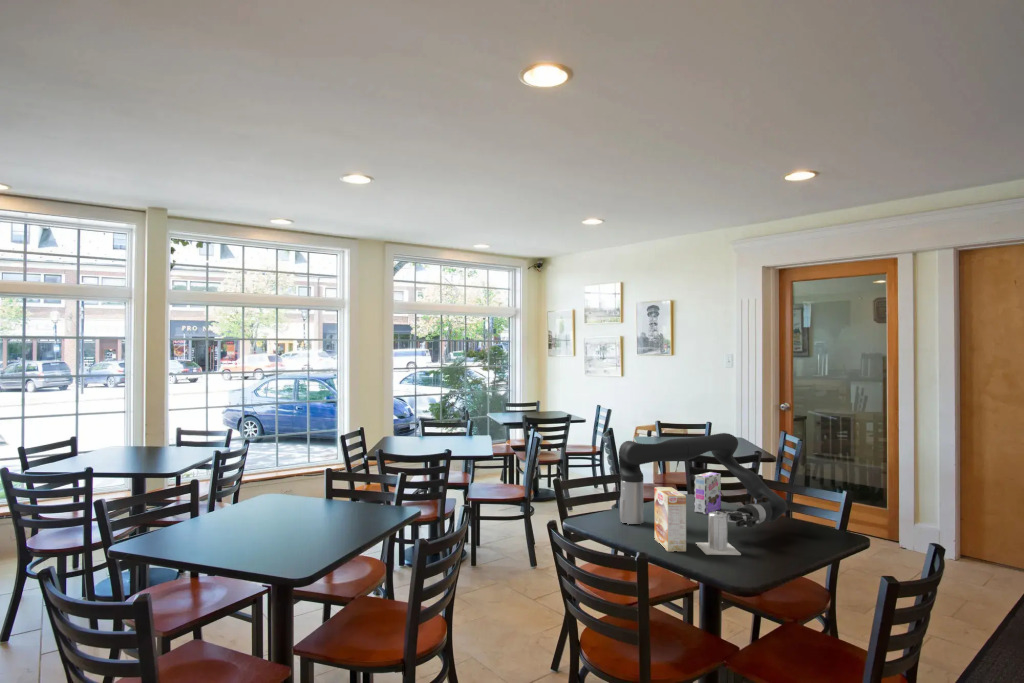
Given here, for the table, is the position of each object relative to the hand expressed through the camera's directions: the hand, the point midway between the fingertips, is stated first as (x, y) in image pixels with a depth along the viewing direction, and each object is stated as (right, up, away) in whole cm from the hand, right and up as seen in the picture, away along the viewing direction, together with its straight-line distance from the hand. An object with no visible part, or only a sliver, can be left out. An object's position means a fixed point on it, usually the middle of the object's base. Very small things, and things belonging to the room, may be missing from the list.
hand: (726, 521), depth 212 cm
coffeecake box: (-20, -9, +1) cm, 22 cm away
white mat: (-4, -9, -4) cm, 10 cm away
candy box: (+10, -11, +51) cm, 53 cm away
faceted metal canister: (-4, -8, -3) cm, 10 cm away
